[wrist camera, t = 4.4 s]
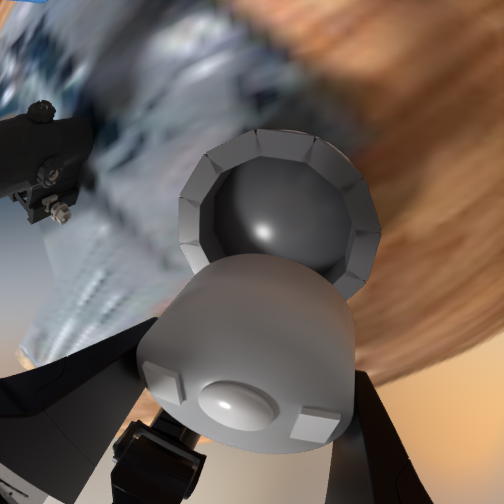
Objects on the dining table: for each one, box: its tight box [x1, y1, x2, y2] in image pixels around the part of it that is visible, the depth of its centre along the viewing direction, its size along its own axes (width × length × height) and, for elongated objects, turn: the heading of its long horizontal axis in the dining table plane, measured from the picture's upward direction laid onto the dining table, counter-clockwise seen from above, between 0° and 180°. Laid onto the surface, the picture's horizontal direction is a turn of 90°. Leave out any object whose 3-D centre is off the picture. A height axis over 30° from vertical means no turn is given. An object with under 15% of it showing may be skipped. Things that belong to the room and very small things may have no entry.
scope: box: [0, 100, 93, 225], centre depth 14 cm, size 8×14×10 cm
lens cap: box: [136, 254, 355, 454], centre depth 8 cm, size 6×6×3 cm
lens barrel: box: [179, 129, 381, 301], centre depth 16 cm, size 10×10×5 cm
